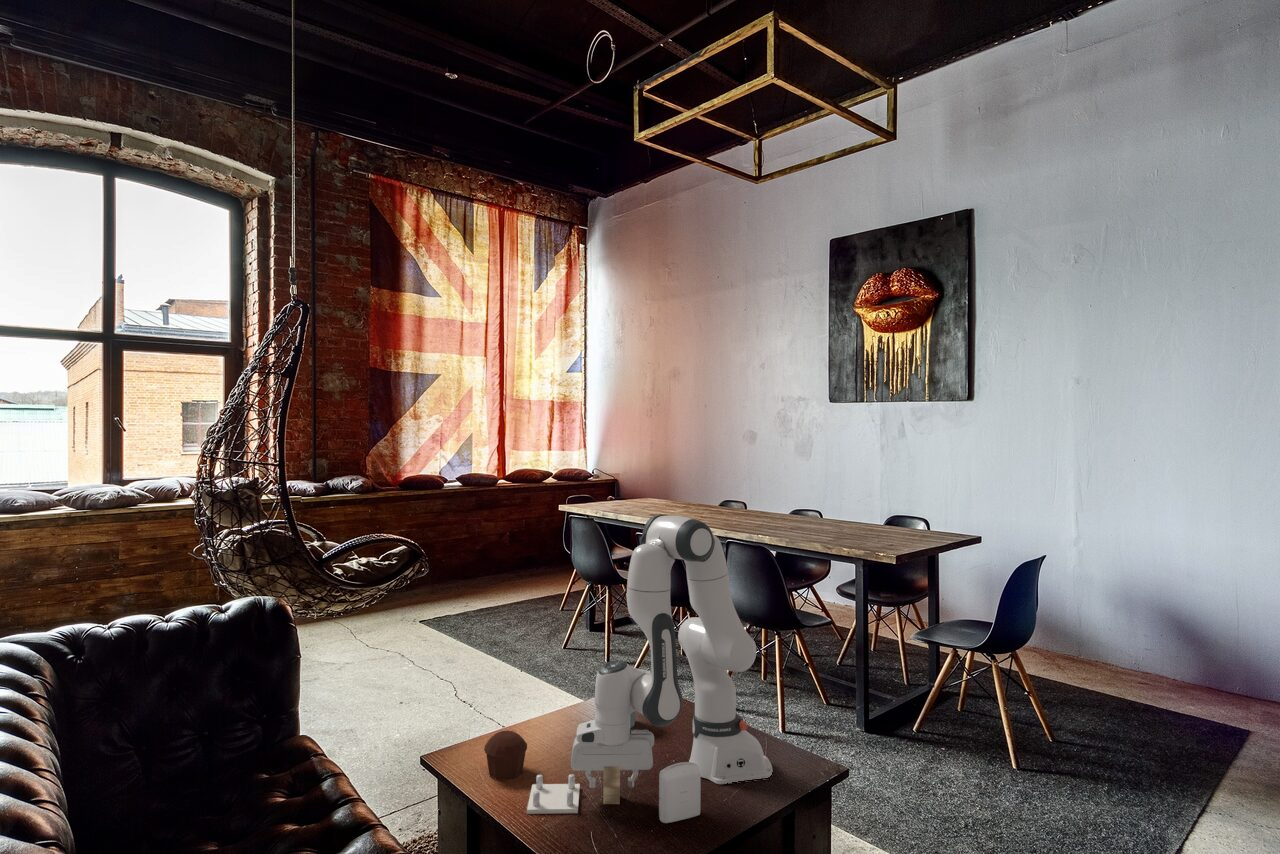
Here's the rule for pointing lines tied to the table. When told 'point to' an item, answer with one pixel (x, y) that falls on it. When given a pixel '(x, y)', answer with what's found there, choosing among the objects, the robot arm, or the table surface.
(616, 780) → the block
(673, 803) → the photo printer
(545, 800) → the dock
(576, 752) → the robot arm
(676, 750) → the table surface
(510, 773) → the muffin
